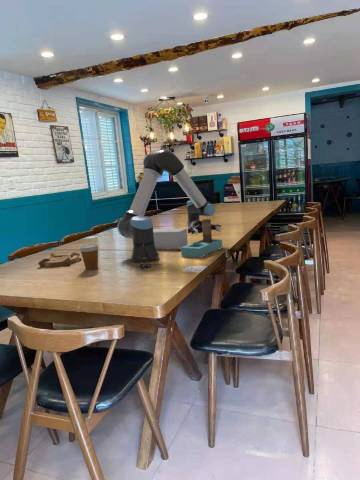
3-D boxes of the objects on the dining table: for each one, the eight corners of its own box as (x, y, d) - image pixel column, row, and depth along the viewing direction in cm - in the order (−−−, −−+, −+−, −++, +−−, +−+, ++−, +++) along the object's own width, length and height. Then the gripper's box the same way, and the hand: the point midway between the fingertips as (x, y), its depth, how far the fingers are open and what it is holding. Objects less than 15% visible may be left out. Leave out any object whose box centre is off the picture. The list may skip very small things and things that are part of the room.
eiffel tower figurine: (162, 264, 179) (160, 239, 176) (159, 270, 169) (156, 243, 166) (134, 266, 181) (131, 241, 178) (129, 271, 171) (126, 245, 168)
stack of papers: (188, 245, 220) (186, 228, 219) (181, 249, 211) (179, 231, 209) (144, 245, 234) (142, 229, 232) (136, 248, 225) (134, 232, 223)
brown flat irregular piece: (29, 267, 197) (27, 259, 196) (61, 257, 217) (59, 249, 217) (59, 269, 186) (58, 260, 185) (90, 258, 206) (88, 250, 205)
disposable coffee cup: (82, 267, 184) (79, 245, 182) (100, 265, 187) (97, 243, 185) (82, 272, 175) (79, 248, 173) (101, 269, 178) (98, 246, 176)
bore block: (199, 257, 184) (198, 248, 183) (181, 256, 191) (180, 247, 190) (222, 248, 203) (221, 239, 202) (205, 246, 210) (204, 238, 209)
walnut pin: (209, 248, 198) (207, 220, 195) (202, 247, 201) (200, 220, 198) (214, 246, 202) (212, 219, 199) (206, 246, 205) (204, 219, 202)
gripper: (217, 229, 220) (229, 234, 200) (179, 234, 215) (187, 240, 194) (216, 218, 219) (229, 221, 198) (178, 222, 214) (186, 226, 193)
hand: (208, 230), depth 196 cm, fingers open, 13 cm apart
